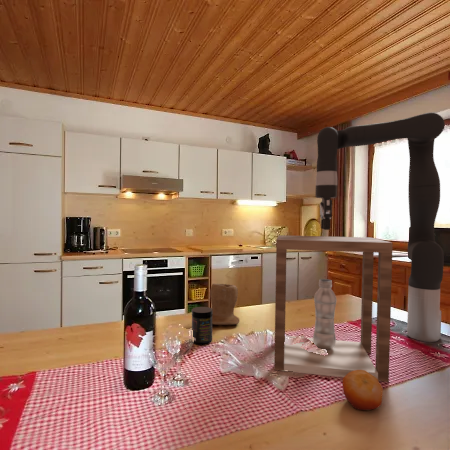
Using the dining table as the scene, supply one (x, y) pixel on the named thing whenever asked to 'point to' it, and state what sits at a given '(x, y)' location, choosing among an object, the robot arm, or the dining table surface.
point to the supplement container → (202, 325)
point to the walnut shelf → (356, 351)
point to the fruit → (362, 390)
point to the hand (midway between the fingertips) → (325, 229)
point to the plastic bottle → (324, 315)
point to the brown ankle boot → (223, 304)
